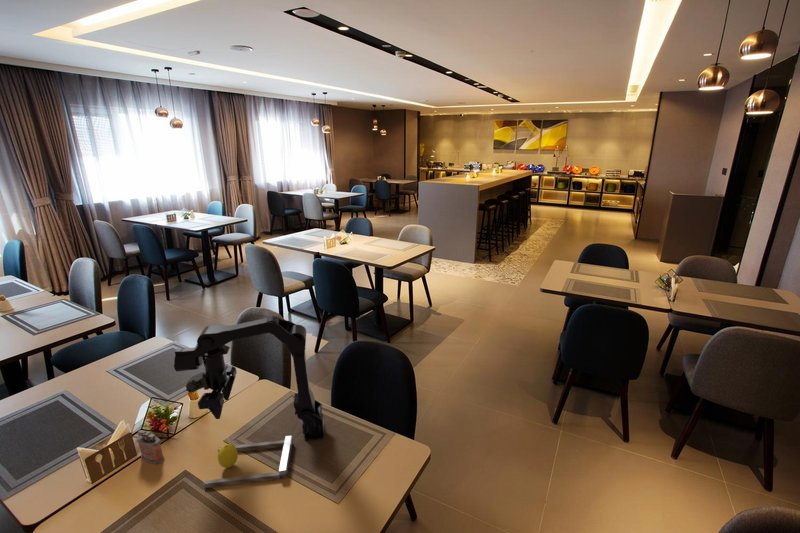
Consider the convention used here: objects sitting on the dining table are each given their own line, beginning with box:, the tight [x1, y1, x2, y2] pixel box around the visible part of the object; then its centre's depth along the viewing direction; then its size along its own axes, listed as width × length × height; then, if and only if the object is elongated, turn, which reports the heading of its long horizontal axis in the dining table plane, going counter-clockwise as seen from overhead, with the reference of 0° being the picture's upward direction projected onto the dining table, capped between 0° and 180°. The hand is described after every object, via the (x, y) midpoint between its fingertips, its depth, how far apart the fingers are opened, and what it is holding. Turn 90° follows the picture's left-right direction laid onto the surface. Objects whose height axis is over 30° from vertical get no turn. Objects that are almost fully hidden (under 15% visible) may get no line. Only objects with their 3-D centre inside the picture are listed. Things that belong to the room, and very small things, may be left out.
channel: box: [203, 435, 293, 489], centre depth 120 cm, size 23×14×3 cm, turn 98°
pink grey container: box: [136, 429, 165, 465], centre depth 122 cm, size 8×3×10 cm, turn 71°
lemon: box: [217, 443, 239, 469], centre depth 119 cm, size 6×6×8 cm
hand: (222, 409), depth 124 cm, fingers open, 9 cm apart
